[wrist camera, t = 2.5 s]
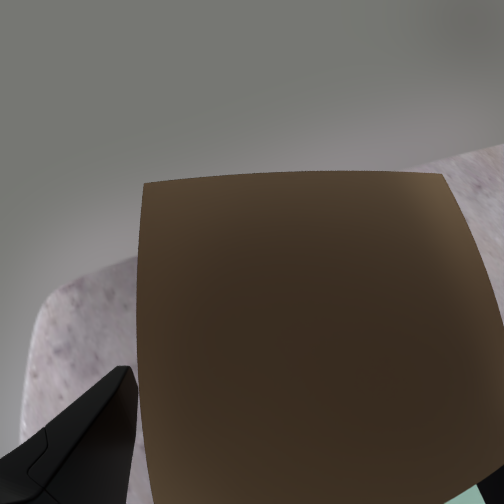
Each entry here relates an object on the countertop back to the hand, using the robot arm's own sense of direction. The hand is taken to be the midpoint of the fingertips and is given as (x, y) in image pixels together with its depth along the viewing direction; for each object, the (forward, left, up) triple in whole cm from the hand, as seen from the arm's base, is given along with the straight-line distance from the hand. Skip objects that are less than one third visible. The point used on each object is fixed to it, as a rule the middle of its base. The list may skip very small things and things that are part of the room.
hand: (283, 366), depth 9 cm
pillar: (0, 0, -8) cm, 8 cm away
